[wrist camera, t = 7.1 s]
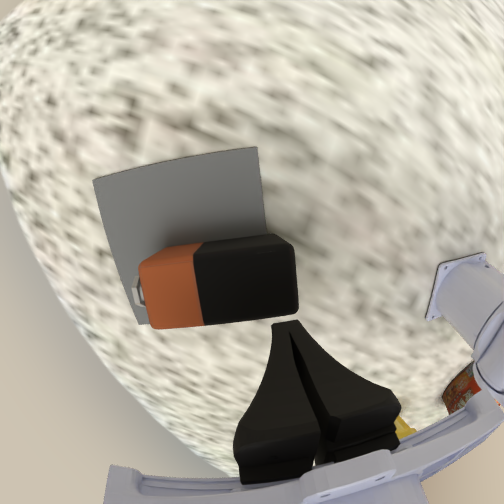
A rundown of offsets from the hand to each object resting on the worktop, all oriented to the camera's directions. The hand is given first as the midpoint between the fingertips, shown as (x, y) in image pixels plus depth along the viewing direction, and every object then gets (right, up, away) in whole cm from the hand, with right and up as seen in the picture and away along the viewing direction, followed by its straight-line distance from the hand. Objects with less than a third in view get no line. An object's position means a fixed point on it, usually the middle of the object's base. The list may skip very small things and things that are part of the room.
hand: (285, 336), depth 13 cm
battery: (+1, +3, +5) cm, 6 cm away
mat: (-7, +5, +8) cm, 12 cm away
